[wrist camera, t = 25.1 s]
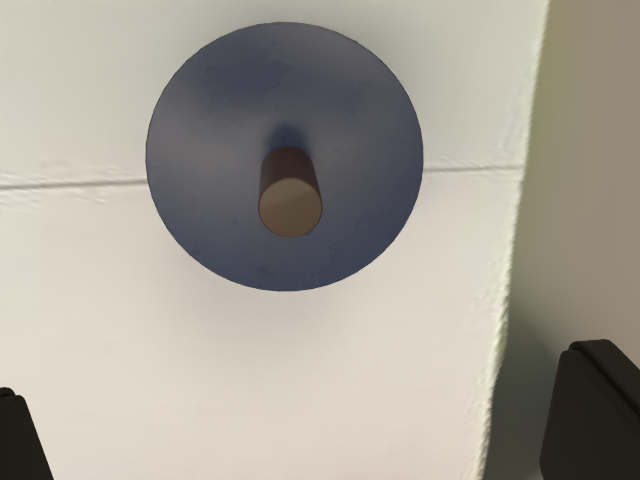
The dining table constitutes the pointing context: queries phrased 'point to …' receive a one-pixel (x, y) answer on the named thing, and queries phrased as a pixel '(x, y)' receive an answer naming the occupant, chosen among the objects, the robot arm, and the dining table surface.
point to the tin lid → (284, 156)
